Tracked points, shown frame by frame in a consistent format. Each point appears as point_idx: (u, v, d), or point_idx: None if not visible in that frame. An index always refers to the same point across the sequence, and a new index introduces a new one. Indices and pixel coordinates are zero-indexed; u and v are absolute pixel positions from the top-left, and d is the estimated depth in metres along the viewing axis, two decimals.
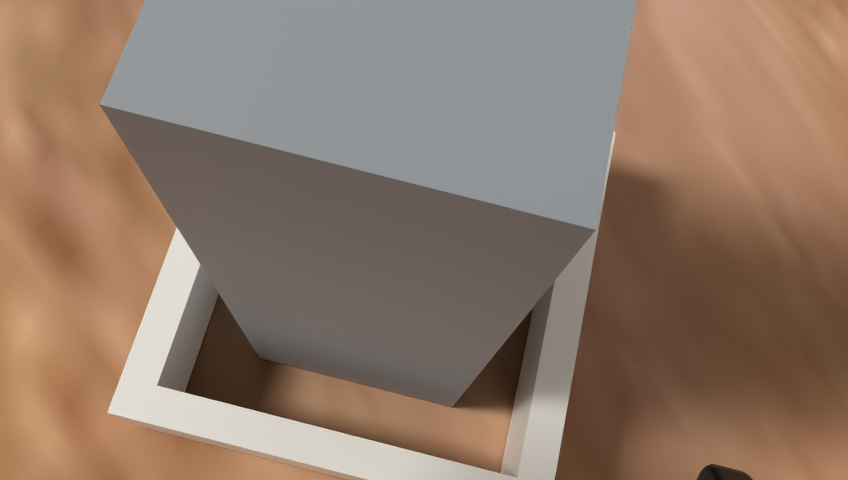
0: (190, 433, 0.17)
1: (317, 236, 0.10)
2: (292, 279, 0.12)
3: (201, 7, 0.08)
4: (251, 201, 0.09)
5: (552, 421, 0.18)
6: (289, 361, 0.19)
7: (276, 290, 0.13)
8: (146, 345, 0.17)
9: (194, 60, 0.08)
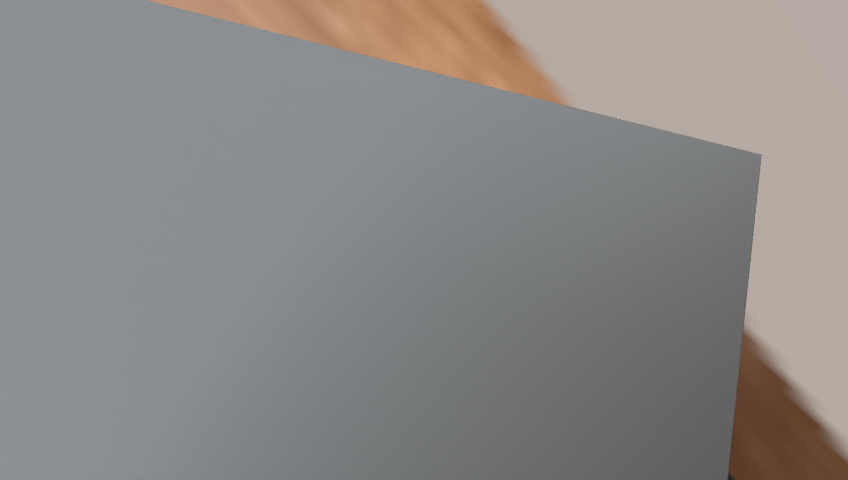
0: None
1: None
2: None
3: None
4: None
5: None
6: None
7: None
8: None
9: None
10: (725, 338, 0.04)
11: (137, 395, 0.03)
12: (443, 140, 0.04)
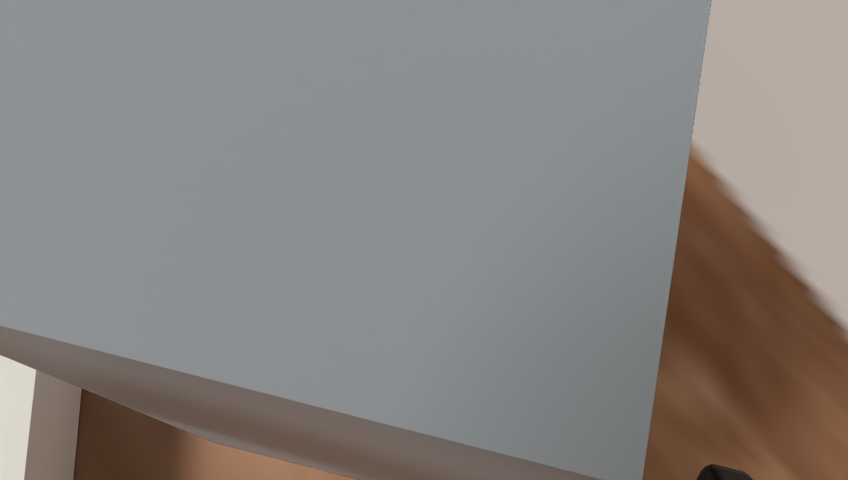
0: None
1: (223, 410, 0.07)
2: (213, 421, 0.09)
3: None
4: (113, 376, 0.06)
5: None
6: (246, 449, 0.16)
7: (200, 422, 0.10)
8: None
9: None
10: None
11: None
12: None
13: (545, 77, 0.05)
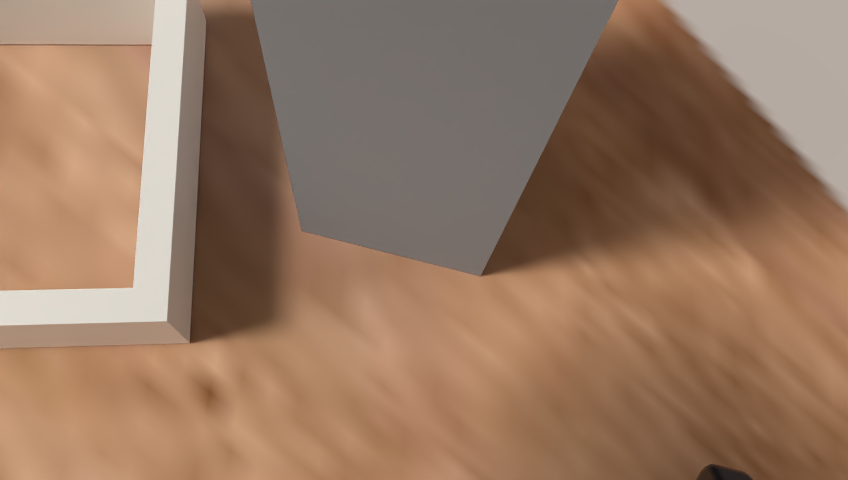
0: None
1: (387, 21, 0.11)
2: (353, 93, 0.14)
3: None
4: None
5: (160, 231, 0.19)
6: (330, 230, 0.21)
7: (335, 114, 0.15)
8: None
9: None
10: None
11: None
12: None
13: None
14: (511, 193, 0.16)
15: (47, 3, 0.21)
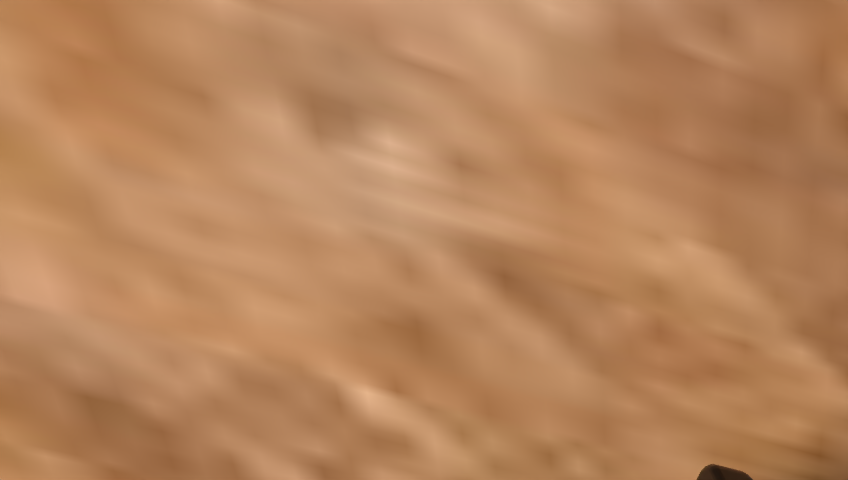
0: None
1: None
2: None
3: None
4: None
5: None
6: None
7: None
8: None
9: None
10: None
11: None
12: None
13: None
14: None
15: None
